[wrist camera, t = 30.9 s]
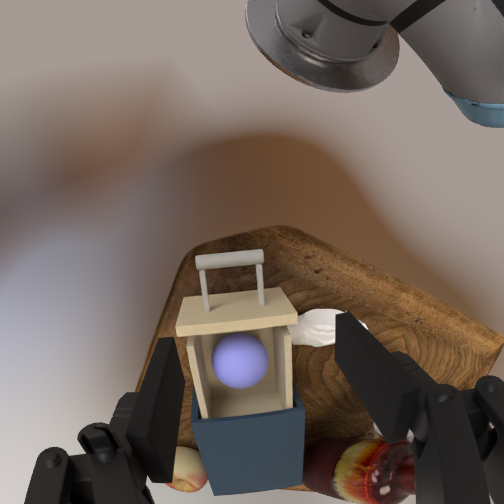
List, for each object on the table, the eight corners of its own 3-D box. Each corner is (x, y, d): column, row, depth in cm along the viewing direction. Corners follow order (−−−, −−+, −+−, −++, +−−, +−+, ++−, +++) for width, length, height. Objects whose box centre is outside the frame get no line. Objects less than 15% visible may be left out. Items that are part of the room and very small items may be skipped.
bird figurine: (339, 291, 42) (278, 313, 39) (370, 314, 36) (304, 342, 33) (338, 319, 44) (280, 342, 41) (366, 342, 38) (304, 371, 35)
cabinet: (194, 375, 41) (190, 423, 31) (286, 364, 42) (305, 409, 32) (212, 450, 44) (214, 495, 34) (288, 441, 46) (301, 484, 35)
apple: (205, 468, 45) (206, 500, 38) (159, 461, 44) (154, 492, 36) (211, 441, 44) (212, 475, 36) (160, 433, 43) (154, 467, 35)
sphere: (217, 318, 37) (218, 345, 31) (270, 328, 38) (281, 355, 32) (206, 363, 38) (205, 395, 32) (256, 372, 40) (264, 403, 33)
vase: (344, 478, 44) (454, 488, 23) (295, 496, 40) (403, 528, 19) (337, 431, 49) (449, 422, 28) (287, 445, 45) (397, 454, 24)
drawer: (176, 248, 36) (165, 266, 28) (277, 238, 37) (295, 252, 29) (202, 398, 41) (201, 438, 32) (284, 388, 42) (298, 426, 33)
